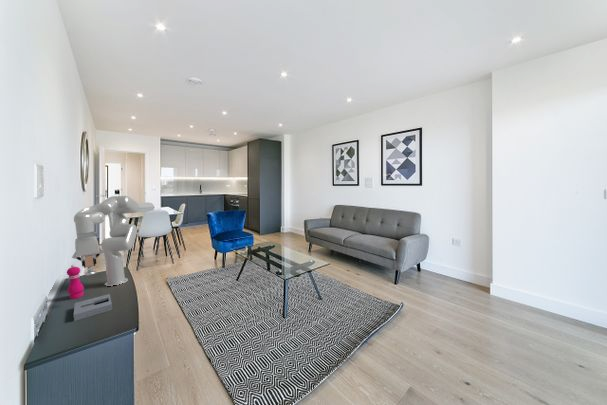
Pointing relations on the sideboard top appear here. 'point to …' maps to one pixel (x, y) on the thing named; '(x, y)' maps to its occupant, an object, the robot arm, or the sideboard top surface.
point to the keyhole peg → (89, 265)
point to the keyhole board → (92, 307)
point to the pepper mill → (74, 283)
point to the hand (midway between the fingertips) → (89, 266)
